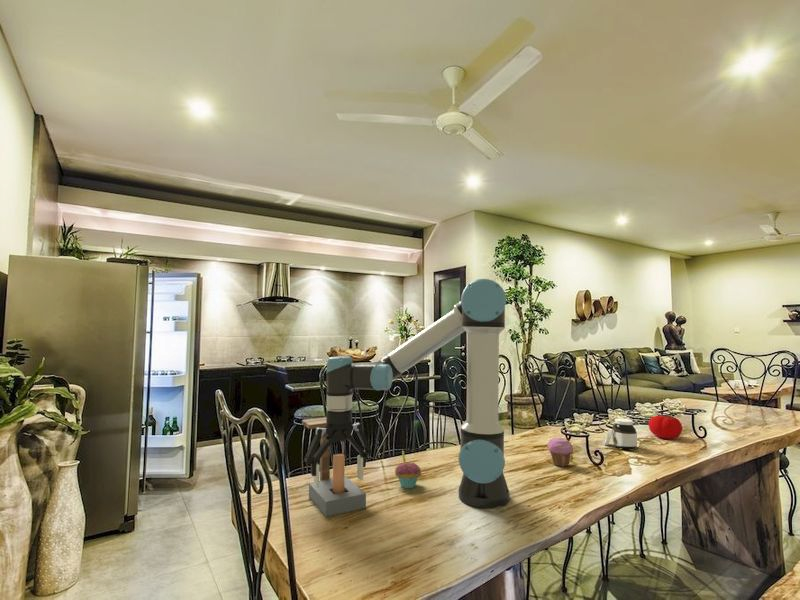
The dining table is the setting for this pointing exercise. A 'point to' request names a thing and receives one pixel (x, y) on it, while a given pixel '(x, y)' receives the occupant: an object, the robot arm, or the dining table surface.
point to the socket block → (337, 497)
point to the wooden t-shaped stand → (326, 456)
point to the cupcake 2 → (560, 451)
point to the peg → (338, 473)
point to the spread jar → (623, 434)
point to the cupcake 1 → (407, 473)
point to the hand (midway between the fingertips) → (338, 482)
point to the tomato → (665, 426)
